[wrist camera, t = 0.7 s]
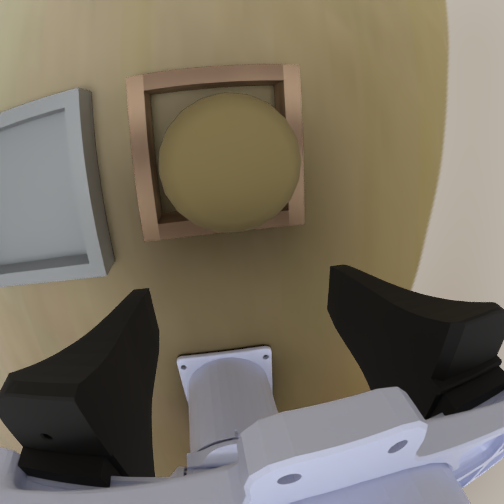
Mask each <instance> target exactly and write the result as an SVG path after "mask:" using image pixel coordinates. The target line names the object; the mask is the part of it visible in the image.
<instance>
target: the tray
mask: <svg viewBox="0 0 504 504" xmlns="http://www.w3.org/2000/svg"><path fill="white" fill-rule="evenodd" d="M114 262H115V258H114V254H113V249H112V245H111V240H110V235H109V230H108V225H107V219H106V214H105V208H104V202H103V196H102V190H101V183H100V177H99V169H98V162H97V153H96V145H95V135H94V124H93V111H92V96H91V91H88V90H84V89H81V88H76V89H72V90H68V91H64V92H61V93H57V94H54V95H51V96H47V97H44V98H41V99H38V100H35V101H32V102H29V103H26V104H23V105H20V106H17V107H15V108H12V109H9V110H7V111H4V112H1V113H0V287H6V286H16V285H26V284H35V283H45V282H55V281H64V280H74V279H84V278H93V277H102V276H107V275H108V273H109V271H110V269H111V267H112V265H113V263H114Z"/></svg>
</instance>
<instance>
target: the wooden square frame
mask: <svg viewBox="0 0 504 504" xmlns="http://www.w3.org/2000/svg"><path fill="white" fill-rule="evenodd" d="M258 85H274V93H275V109H276V110H277V111H278V112H279V113H280V114H281V115H282V116H284V117H285V119H286V120H287V122H288V124H289V125H290V127H291V129H292V130H293V132H294V134H295V136H296V137H297V140H298V145H299V150H300V155H301V168H300V177H299V182H298V184H297V186H296V189H295V191H294V193H293V195H292V198H291V200H290V201H289V202H288V203H287V204H286V206H285V207H284V208H283V209H282V210H281V211H280V212H279V214H278V215H277V216H275V217H274V218H272V219H271V220H269V221H268V222H266V223H264V224H263V225H261V226H260V227H257V228H254V229H250V230H255V229H264V228H274V227H284V226H295V225H304V158H303V127H302V103H301V84H300V68H299V65H285V64H251V65H225V66H209V67H197V68H187V69H178V70H169V71H162V72H155V73H148V74H142V75H136V76H130V77H126V88H127V104H128V118H129V130H130V140H131V150H132V159H133V168H134V176H135V184H136V191H137V198H138V205H139V212H140V218H141V224H142V230H143V236H144V242H147V241H155V240H164V239H172V238H181V237H190V236H199V235H208V234H217V233H226V232H214V231H212V230H209V229H206V228H203V227H200V226H197V225H195V224H194V223H193V222H191V221H190V220H188V219H187V218H186V217H184V216H183V215H182V214H180V213H179V212H169V213H162V209H161V202H160V194H159V186H158V177H157V168H156V159H155V149H154V139H153V127H152V114H151V100H150V95H152V94H159V93H167V92H175V91H183V90H193V89H204V88H216V87H232V86H258Z"/></svg>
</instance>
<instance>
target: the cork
mask: <svg viewBox="0 0 504 504" xmlns="http://www.w3.org/2000/svg"><path fill="white" fill-rule="evenodd" d="M300 168H301V155H300V150H299V145H298V140H297V137H296V136H295V134H294V132H293V130H292V129H291V127H290V125H289V124H288V122H287V120H286V119H285V117H284V116H282V115H281V114H280V113H279V112H278V111H277V110H276V109H274V108H273V107H272V106H271V105H270V104H269V103H267V102H264V101H262V100H260V99H257V98H255V97H253V96H250V95H248V94H237V93H221V94H217V95H213V96H209V97H205V98H201V99H200V100H198V101H197V102H195V103H193V104H192V105H190V106H189V107H187V108H186V109H184V110H182V111H181V113H180V114H179V115H178V116H177V117H176V119H175V120H174V121H173V122H172V124H171V125H170V126H169V127H168V129H167V131H166V133H165V136H164V139H163V141H162V144H161V147H160V150H159V176H160V179H161V182H162V186H163V189H164V192H165V194H166V196H167V197H168V199H169V200H170V201H171V203H172V204H173V206H174V207H175V208H176V210H177V211H178V212H179V213H180V214H182V215H183V216H184V217H186V218H187V219H188V220H190V221H191V222H193V223H194V224H195V225H197V226H200V227H203V228H206V229H209V230H212V231H214V232H226V233H239V232H243V231H246V230H250V229H254V228H257V227H260V226H261V225H263V224H264V223H266V222H268V221H269V220H271V219H272V218H274V217H275V216H277V215H278V214H279V212H280V211H281V210H282V209H283V208H284V207H285V206H286V204H287V203H288V202H289V201H290V200H291V198H292V195H293V193H294V191H295V189H296V186H297V184H298V182H299V177H300Z"/></svg>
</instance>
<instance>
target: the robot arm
mask: <svg viewBox="0 0 504 504" xmlns="http://www.w3.org/2000/svg"><path fill="white" fill-rule="evenodd" d="M327 309H328V312H329V314H330V317H331V319H332V321H333V323H334V326H335V328H336V329H337V331H338V333H339V334H340V336H341V338H342V339H343V341H344V342H345V344H346V345H347V347H348V349H349V350H350V352H351V353H352V355H353V357H354V358H355V360H356V361H357V363H358V364H359V366H360V368H361V370H362V372H363V374H364V376H365V378H366V380H367V382H368V385H369V387H370V389H371V391H368V392H364V393H361V394H357V395H353V396H350V397H346V398H342V399H338V400H334V401H330V402H326V403H322V404H317V405H313V406H309V407H304V408H299V409H294V410H289V411H284V412H280V413H278V411H277V408H276V404H275V401H274V398H273V394H272V351H271V348H270V347H269V346H260V347H254V348H246V349H239V350H231V351H224V352H215V353H206V354H197V355H187V356H180V357H178V358H177V366H178V370H179V373H180V377H181V381H182V384H183V388H184V391H185V395H186V398H187V402H188V405H189V432H190V453H187V467H182V466H179V467H177V468H176V470H175V471H174V472H173V473H172V474H171V476H170V477H155V472H154V461H153V448H152V395H153V388H154V381H155V374H156V368H157V361H158V354H159V328H158V324H157V320H156V316H155V312H154V308H153V304H152V300H151V295H150V291H149V288H145V289H136V290H133V291H132V292H131V293H130V294H129V295H128V296H127V297H126V298H125V299H124V300H123V301H122V302H121V303H120V304H119V305H118V306H117V307H116V308H115V309H114V310H113V311H112V312H111V313H110V314H109V315H108V316H107V317H105V318H104V319H103V320H102V321H101V322H100V323H99V324H98V325H97V326H96V327H95V328H93V329H92V330H91V331H90V332H88V333H87V334H86V335H85V336H83V337H82V338H80V339H79V340H78V341H76V342H75V343H73V344H72V345H70V346H68V347H67V348H65V349H63V350H62V351H60V352H59V353H57V354H55V355H53V356H51V357H49V358H47V359H45V360H43V361H41V362H39V363H36V364H34V365H32V366H29V367H26V368H23V369H21V370H18V371H15V372H12V373H9V375H8V377H7V379H6V381H5V382H4V384H3V386H2V388H1V390H0V418H1V420H2V421H3V423H4V424H5V426H6V427H7V428H8V429H9V431H10V432H11V433H12V434H13V435H14V437H15V438H16V439H17V440H18V441H19V443H20V444H21V445H22V446H23V449H22V452H21V455H20V454H19V453H17V452H16V451H14V450H11V449H7V448H3V447H0V504H471V503H470V501H469V500H468V498H467V496H466V495H465V493H464V491H463V490H462V488H463V487H465V486H466V485H468V484H469V483H471V482H472V481H473V480H475V479H476V478H478V477H479V476H480V475H482V474H483V473H484V472H485V471H487V470H488V469H490V468H491V467H492V466H493V465H495V464H496V463H497V462H498V461H500V460H501V459H502V458H503V457H504V371H503V370H502V369H501V368H500V367H499V365H501V363H502V361H501V359H500V358H499V357H498V356H497V354H498V351H499V349H500V347H501V344H502V342H503V340H504V309H503V308H502V307H500V306H499V305H498V304H496V303H493V302H464V301H454V300H447V299H442V298H436V297H432V296H427V295H423V294H420V293H416V292H413V291H410V290H407V289H404V288H401V287H398V286H396V285H393V284H390V283H388V282H386V281H383V280H381V279H378V278H376V277H374V276H372V275H369V274H367V273H365V272H363V271H360V270H358V269H355V268H353V267H350V266H347V265H337V266H330V279H329V293H328V306H327ZM264 355H267V356H265V357H264ZM182 365H185V367H183V366H182Z"/></svg>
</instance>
